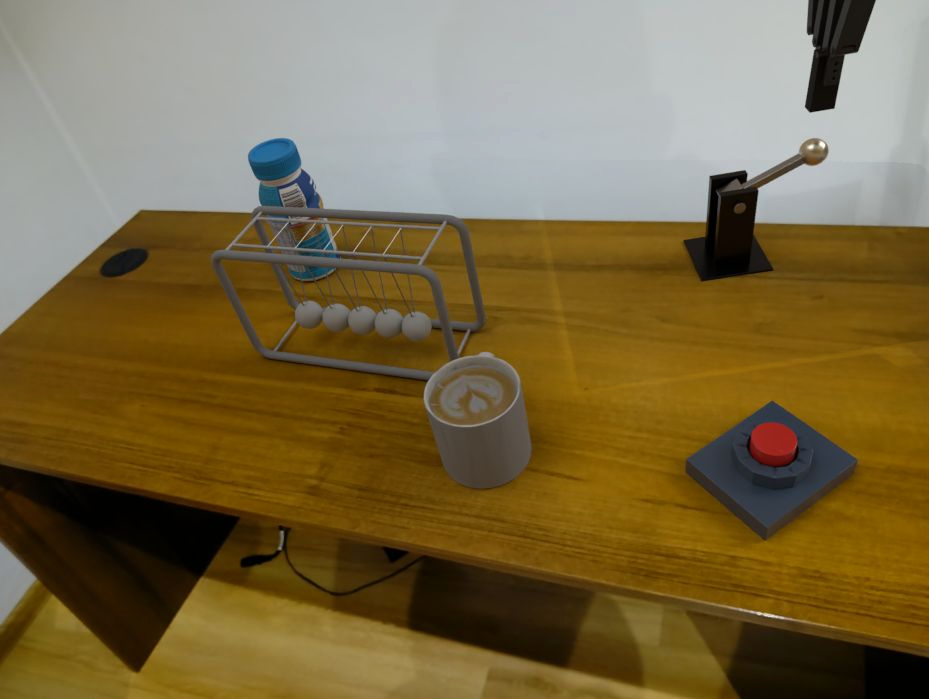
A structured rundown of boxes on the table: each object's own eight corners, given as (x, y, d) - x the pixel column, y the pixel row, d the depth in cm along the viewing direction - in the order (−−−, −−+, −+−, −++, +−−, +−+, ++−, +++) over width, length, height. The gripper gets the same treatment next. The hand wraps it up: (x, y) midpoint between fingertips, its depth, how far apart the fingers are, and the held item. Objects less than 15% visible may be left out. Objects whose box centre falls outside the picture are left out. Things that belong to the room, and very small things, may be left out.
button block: (769, 413, 76) (774, 388, 73) (854, 473, 69) (862, 447, 66) (684, 472, 72) (686, 447, 70) (764, 541, 66) (769, 516, 63)
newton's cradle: (257, 358, 97) (202, 252, 85) (294, 308, 104) (248, 203, 92) (463, 387, 86) (434, 270, 74) (489, 329, 93) (466, 213, 81)
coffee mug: (515, 497, 74) (503, 434, 67) (428, 479, 77) (407, 418, 71) (550, 402, 82) (542, 338, 76) (470, 389, 86) (455, 328, 79)
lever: (825, 148, 86) (817, 128, 84) (836, 161, 84) (828, 140, 82) (722, 203, 91) (712, 185, 89) (730, 217, 89) (720, 199, 87)
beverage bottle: (280, 283, 109) (229, 166, 96) (302, 250, 115) (256, 135, 101) (331, 284, 107) (285, 164, 93) (350, 250, 112) (310, 132, 99)
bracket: (749, 236, 98) (759, 158, 90) (772, 276, 91) (784, 196, 83) (683, 246, 99) (686, 170, 91) (700, 286, 92) (706, 208, 84)
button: (769, 427, 70) (771, 415, 69) (804, 452, 68) (807, 440, 66) (740, 448, 69) (741, 436, 68) (774, 474, 66) (776, 462, 65)
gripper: (794, -143, 70) (765, 89, 86) (851, -116, 61) (807, 140, 77) (874, -159, 70) (830, 78, 86) (944, -133, 60) (880, 128, 76)
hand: (819, 107), depth 81 cm, fingers closed
